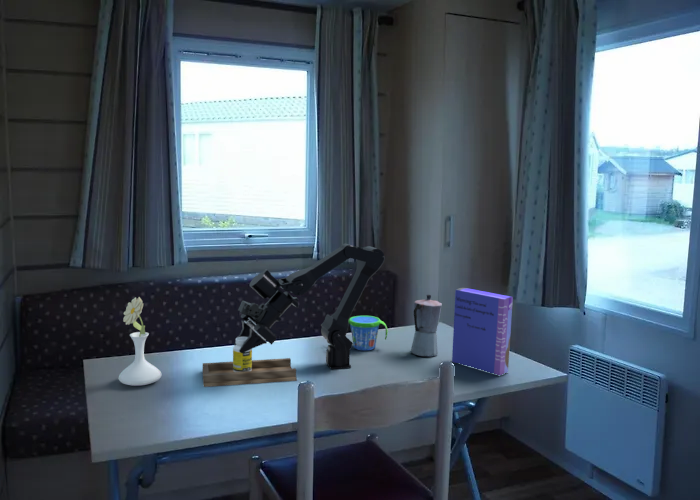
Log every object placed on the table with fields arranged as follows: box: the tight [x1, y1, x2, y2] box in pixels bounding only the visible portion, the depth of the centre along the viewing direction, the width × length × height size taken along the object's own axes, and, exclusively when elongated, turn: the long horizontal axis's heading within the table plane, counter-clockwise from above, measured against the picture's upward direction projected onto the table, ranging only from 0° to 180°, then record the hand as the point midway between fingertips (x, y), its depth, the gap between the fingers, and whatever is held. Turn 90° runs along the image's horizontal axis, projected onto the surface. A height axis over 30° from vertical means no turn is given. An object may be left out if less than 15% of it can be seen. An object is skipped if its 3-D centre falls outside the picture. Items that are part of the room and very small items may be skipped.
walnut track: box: [202, 357, 298, 388], centre depth 175 cm, size 26×13×3 cm, turn 105°
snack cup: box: [348, 315, 389, 351], centre depth 205 cm, size 16×10×10 cm
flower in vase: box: [118, 296, 162, 387], centre depth 166 cm, size 13×11×25 cm
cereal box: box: [451, 287, 514, 376], centre depth 187 cm, size 17×5×24 cm, turn 45°
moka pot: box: [410, 294, 443, 357], centre depth 199 cm, size 10×15×20 cm, turn 148°
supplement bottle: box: [232, 336, 253, 372], centre depth 174 cm, size 5×5×10 cm
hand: (237, 349), depth 173 cm, fingers closed on supplement bottle, 5 cm apart
